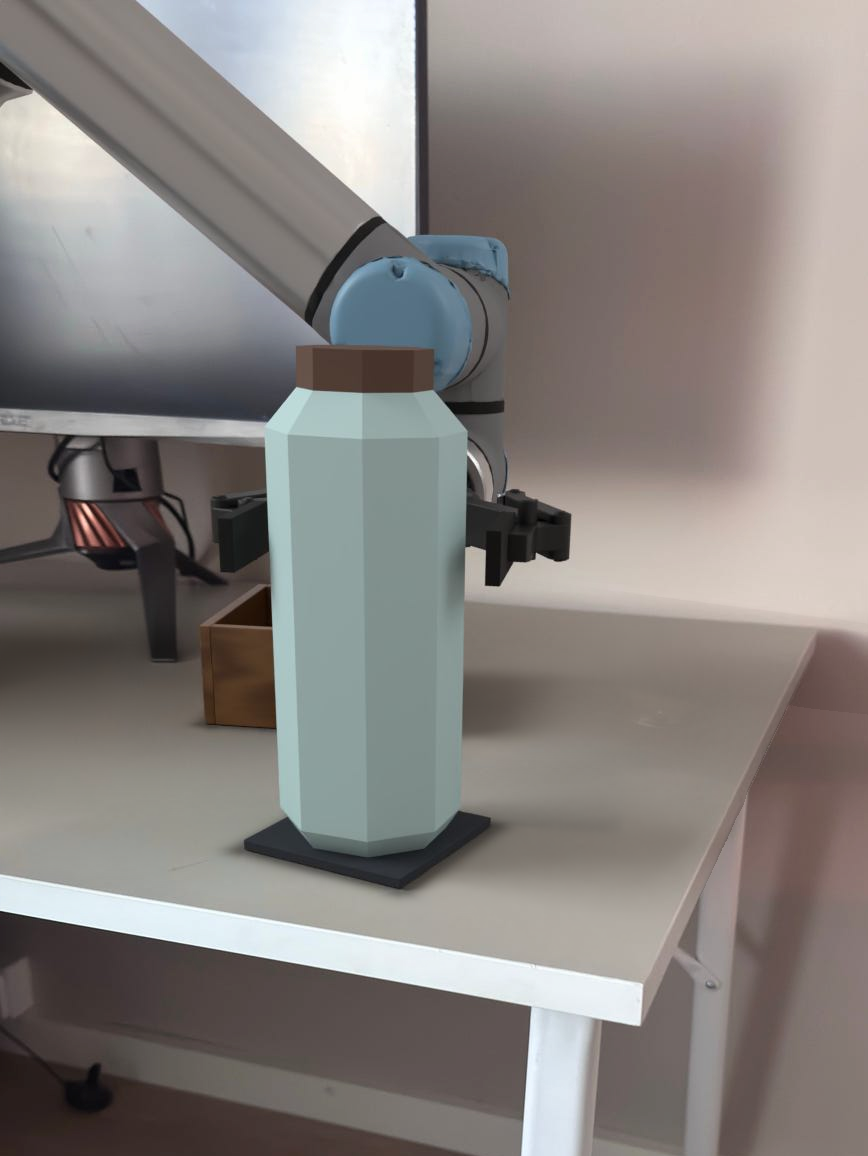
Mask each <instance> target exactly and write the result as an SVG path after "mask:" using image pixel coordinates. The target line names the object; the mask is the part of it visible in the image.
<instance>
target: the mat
mask: <svg viewBox="0 0 868 1156" xmlns="http://www.w3.org/2000/svg"><path fill="white" fill-rule="evenodd" d="M491 822H492V819H491V817H490V816H485V815H481V814H476V813H471V812H466V811H462V810H458V812H457V813H456V815H455V816H454V817H453V819H452V820H451V821H450V823H449V824H448V825H447V827H446V828H445V829H444V830H443V831H442V832H441V833H440V834H439V835H438V836H437V837H436V838H435V839H434V840H433V841H431V842H430V843H429V844H428V845H427V846H426V847H425V848H424V849H419V850H413V851H406V852H400V853H394V854H387V855H381V856H375V857H369V858H368V857H362V856H356V855H350V854H345V853H339V852H333V851H327V850H321V849H315V848H313V847H312V845H311V844H310V843H309V842H308V841H307V840H306V838H305V837H304V836H303V835H302V834H301V833H300V832H299V830H298V829H297V828H296V827H295V826H294V824H293V823H292V822H291V820H290V819H289V818H288V816H286V817H284V818H282V819H280V820H278V821H277V822H274V823H273V824H271V825H269V826H267V827H265V828H264V829H262V830H260V831H258V832H256V833H254V834H252V835H250V836H248V837H246V838H244V839H243V849H244V850H245V851H249V852H253V853H257V854H261V855H265V856H269V857H272V858H276V859H281V860H283V861H284V860H285V861H289V862H292V863H296V864H299V865H300V864H301V865H305V866H308V867H313V868H317V869H319V870H320V869H321V870H325V871H329V872H331V873H336V874H340V875H345V876H348V877H352V878H355V879H359V880H364V881H367V882H368V881H369V882H372V883H375V884H379V885H383V886H387V887H392V888H395V889H399V890H401V889H402V888H404V887H406V886H407V885H409V884H410V883H411V882H413V881H414V880H416V879H417V878H419V877H420V876H421V875H423V874H425V873H426V872H427V871H429V870H430V869H431V868H433V867H434V866H436V865H437V864H439V863H440V862H442V861H444V860H445V859H446V858H447V857H449V856H450V855H452V854H453V853H455V852H456V851H457V850H459V849H460V848H462V847H463V846H465V845H466V844H468V843H469V842H470V841H472V840H473V839H475V838H476V837H478V836H479V835H481V834H482V833H483V832H485V831H487V830H488V829H489V828H491Z"/></svg>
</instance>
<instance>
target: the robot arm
mask: <svg viewBox="0 0 868 1156" xmlns="http://www.w3.org/2000/svg"><path fill="white" fill-rule="evenodd" d="M33 92H35V93H36V94H38V95H39V96H40V97H41V98H42V99H44V100H45V101H46V103H48V104H49V105H50V106H52V107H53V108H54V109H55V110H56V111H57V112H59V113H60V114H61V115H62V116H64V117H65V119H67V120H68V121H69V122H70V123H72V124H73V125H74V126H75V127H76V128H77V129H79V131H81V132H82V133H83V134H84V135H85V136H86V137H88V138H89V139H91V140H92V141H93V142H94V143H95V144H96V145H97V146H99V147H100V148H101V149H102V150H103V151H105V152H106V153H107V154H108V155H109V156H110V157H111V158H113V159H114V160H115V161H116V162H117V163H118V164H120V165H121V166H122V167H123V168H124V169H126V170H127V171H128V172H129V173H130V174H131V175H133V176H134V177H135V178H136V179H137V180H139V182H140V183H142V184H143V185H144V186H145V187H147V188H148V189H149V190H150V191H151V192H152V193H154V194H155V195H156V196H157V197H158V198H160V199H161V200H162V201H163V202H164V203H165V204H167V205H168V206H169V207H170V208H171V209H173V210H174V211H175V212H176V213H177V214H178V215H180V216H181V217H182V218H183V219H184V220H186V222H188V223H189V224H190V225H191V226H192V227H194V228H195V229H196V230H197V231H198V232H200V233H201V234H202V235H203V236H204V237H205V238H206V239H208V240H209V242H211V243H213V244H214V246H216V248H218V249H220V250H221V251H222V252H223V253H224V254H225V255H226V256H227V257H229V258H230V259H231V260H232V261H234V263H236V264H237V265H238V266H239V267H241V269H243V270H244V271H245V272H247V274H249V275H250V276H251V277H252V278H254V279H255V280H256V281H257V282H258V283H259V284H261V286H263V287H264V288H265V289H266V290H268V291H269V292H270V293H271V294H272V295H274V297H276V298H277V299H278V300H279V301H280V302H282V303H283V304H284V305H285V306H286V307H288V308H289V309H290V310H291V311H292V312H293V313H294V314H295V315H297V316H298V317H299V318H300V319H301V320H302V321H303V322H304V323H306V324H307V325H308V326H309V327H310V328H312V330H314V331H315V332H316V333H317V335H318V336H320V337H321V338H322V339H323V340H324V341H326V342H327V343H328V345H376V346H403V347H420V348H430V349H435V350H434V383H433V390H434V391H435V393H436V394H437V395H438V396H439V397H440V399H441V400H442V401H443V402H444V403H445V405H446V406H447V407H448V408H449V409H450V411H451V412H452V413H453V414H454V415H455V417H456V418H457V419H458V420H459V421H460V423H461V424H462V425H463V426H464V427H465V429H466V430H467V431H468V432H467V487H466V543H465V548H471V547H473V548H476V549H480V550H483V551H485V561H484V563H485V565H484V587H497V588H500V587H501V585H502V583H503V582H504V580H505V578H506V577H507V575H508V573H509V572H510V570H511V568H512V567H513V565H514V563H523V564H524V563H525V564H526V563H530V562H531V561H535V560H536V559H537V555H540V556H541V557H544V558H546V559H548V560H552V561H553V562H554V563H555V562H556V563H562V562H566V561H568V560H570V553H571V552H570V551H571V534H572V517H573V516H572V515H573V514H572V513H571V512H568V511H566V510H562V509H561V508H558V507H556V506H552V505H551V504H547V503H545V502H542V501H540V500H539V499H538V498H532V497H530V496H527V495H526V491H524V490H520V488H511V489H509V490H507V487H508V479H509V457H507V453H506V449H505V421H506V419H505V418H506V417H505V415H506V410H505V403H506V402H505V384H506V383H505V382H506V360H507V359H506V357H507V340H508V339H507V336H508V335H507V334H508V314H509V313H508V312H509V301H510V300H511V292H512V290H511V288H510V287H509V257H508V256H509V254H508V250H507V248H506V245H505V244H504V243H503V242H502V241H501V240H500V239H498V238H495V237H490V236H489V237H488V236H477V235H462V234H460V235H459V234H457V235H456V234H417V235H416V234H415V235H411V236H408V237H406V236H405V235H404V234H402V232H401V231H399V230H398V229H397V228H396V227H394V225H392V224H390V223H389V222H388V221H386V220H385V219H384V218H383V216H381V215H380V214H379V213H378V212H377V211H376V210H374V208H372V206H371V205H369V204H368V203H367V202H366V201H364V200H363V199H362V198H361V197H360V196H359V195H358V194H357V193H355V191H354V190H352V189H351V188H350V187H349V186H348V185H346V184H345V182H343V181H342V180H341V179H340V178H339V177H337V176H336V174H334V173H333V172H331V171H330V169H328V168H327V167H326V166H325V165H324V164H323V163H322V162H320V161H319V160H318V159H317V158H316V157H315V156H314V155H313V154H311V153H310V152H309V151H308V150H307V149H306V148H305V147H304V146H302V145H301V144H300V143H299V142H297V140H295V139H294V138H293V137H292V136H291V135H289V133H287V132H286V131H285V130H284V129H283V128H282V127H281V126H279V125H278V124H277V123H276V122H275V121H274V120H272V118H270V117H269V116H268V115H267V114H266V113H265V112H263V111H262V110H261V109H260V108H259V107H258V106H257V105H256V104H254V103H253V102H252V101H251V100H250V99H249V98H248V97H246V96H245V95H244V94H243V93H242V91H240V90H238V89H237V88H236V87H235V86H234V85H233V84H232V83H231V82H230V81H228V80H227V79H226V78H225V77H224V76H223V75H222V74H220V73H219V72H218V71H217V70H216V69H215V68H214V67H213V66H211V65H210V64H209V63H208V62H207V61H206V60H204V59H203V58H202V57H201V56H200V55H199V54H198V53H197V52H195V51H194V50H193V49H192V48H191V47H190V46H189V45H188V44H186V43H185V42H184V41H183V40H182V39H181V38H179V36H177V35H176V34H175V33H174V32H173V31H171V29H169V28H168V27H167V26H166V25H165V24H164V23H162V21H160V19H158V18H157V17H155V15H154V14H152V13H151V12H150V11H149V10H148V9H147V8H146V7H145V6H143V5H142V4H141V3H140V2H139V1H138V0H0V108H1V107H2V106H3V105H4V104H5V103H6V102H9V101H11V100H16V99H19V98H22V97H25V96H26V97H27V96H29V95H32V94H33ZM209 507H210V522H211V523H210V524H211V538H212V543H214V544H218V557H219V572H220V573H229V574H235V573H237V572H238V571H240V570H242V569H243V568H245V567H246V566H248V565H250V564H251V563H253V562H255V561H258V559H259V558H261V557H263V556H264V555H266V554H267V553H269V529H268V505H267V488H263V489H256V490H250V491H243V492H236V493H235V492H234V493H229V494H223V493H220V494H216V495H212V496H210V497H209Z"/></svg>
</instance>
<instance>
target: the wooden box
mask: <svg viewBox="0 0 868 1156" xmlns="http://www.w3.org/2000/svg"><path fill="white" fill-rule="evenodd" d="M198 631H199V635H198V636H199V649H200V667H201V682H202V697H203V713H204V723H205V724H206V725H207V724H208V725H220V726H233V727H234V726H236V727H251V728H268V729H277V721H276V697H275V673H274V649H273V625H272V601H271V583H270V584H267V583H258V584H257V585H255V586H254V587H252V588H251V589H249V590H248V591H247V592H245V593H244V594H242V595H240V597H238V598H237V599H235V600H234V601H232V602H231V603H230V604H228V605H227V606H226V607H223V608H222V609H220V611H218V612H217V613H215V614H213V616H211V617H210V618H208V619H207V620H205V621H203V623H201V624H199V626H198Z"/></svg>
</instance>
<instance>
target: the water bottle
mask: <svg viewBox="0 0 868 1156" xmlns="http://www.w3.org/2000/svg"><path fill="white" fill-rule="evenodd" d="M434 350H435V349H430V348H420V347H403V346H376V345H330V344H306V345H303V344H302V345H295V377H296V378H295V380H296V381H295V382H296V383H295V384H296V385H295V386H296V387H295V388H293V389H294V390H293V391H291V393H290V394H289V395H288V397H286V399H285V401H283V403H282V404H281V406H280V407H279V408H278V409H277V410H276V412H275V413H274V414H273V416H272V417H271V418H270V419H269V420H268V422H267V423H266V424H265V425H264V426H263V429H264V430H263V431H264V451H265V452H264V453H265V454H264V455H265V476H266V481H265V482H266V489H267V505H268V529H269V552H268V553H269V573H270V574H269V575H270V576H269V577H270V584H271V601H272V625H273V649H274V673H275V697H276V721H277V728H276V742H277V743H276V744H277V745H276V746H277V766H278V767H277V769H278V790H279V808H280V809H281V810H282V811H283V813H284V814H285V815H286V817H288V818H289V819H290V820H291V822H292V823H293V824H294V826H295V827H296V828H297V829H298V830H299V832H300V833H301V834H302V835H303V836H304V837H305V838H306V840H307V841H308V842H309V843H310V844H311V845H312V847H313V848H315V849H321V850H327V851H333V852H339V853H345V854H350V855H356V856H362V857H368V858H369V857H375V856H381V855H387V854H394V853H400V852H406V851H413V850H419V849H424V848H425V847H426V846H427V845H428V844H429V843H430V842H431V841H433V840H434V839H435V838H436V837H437V836H438V835H439V834H440V833H441V832H442V831H443V830H444V829H445V828H446V827H447V825H448V824H449V823H450V821H451V820H452V819H453V817H454V816H455V815H456V813H457V812H458V811H460V809H461V808H462V763H463V761H462V760H463V758H462V756H463V755H462V754H463V707H464V706H463V702H464V700H463V699H464V694H463V693H464V647H465V646H464V645H465V642H464V641H465V599H466V598H465V592H466V591H465V589H466V588H465V587H466V547H465V543H466V487H467V432H468V431H467V430H466V429H465V427H464V426H463V425H462V424H461V423H460V421H459V420H458V419H457V418H456V417H455V415H454V414H453V413H452V412H451V411H450V409H449V408H448V407H447V406H446V405H445V403H444V402H443V401H442V400H441V399H440V397H439V396H438V395H437V394H436V393H435V391H434V390H433V383H434Z"/></svg>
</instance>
